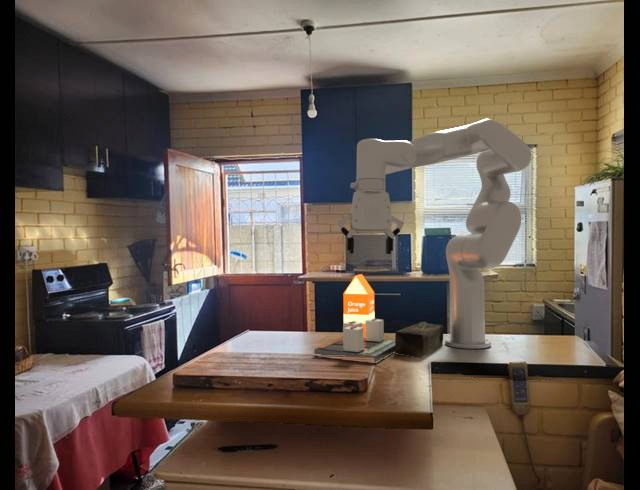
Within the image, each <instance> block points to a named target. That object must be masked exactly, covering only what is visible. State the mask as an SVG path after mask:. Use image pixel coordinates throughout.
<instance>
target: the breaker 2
mask: <svg viewBox="0 0 640 490" xmlns="http://www.w3.org/2000/svg"><path fill="white" fill-rule="evenodd" d="M384 321H385V320H384V319H379V318H376V317H375V319H368V320H366V321H365V332H366V340H367V341H377V342H379V341H381V340H383V339H385V337H384V336H385V332H384V327H385V326H384V325H385V323H384Z"/></svg>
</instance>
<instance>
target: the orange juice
mask: <svg viewBox="0 0 640 490" xmlns="http://www.w3.org/2000/svg"><path fill="white" fill-rule="evenodd" d="M375 314H376V313H375V291H374V290H373V288H372V287H371V285H370V284H369V282H368V281H367V280H366V278H365V277H364V275H363V273H361V274H357V275H355V276H354V277H353V279H352V280H351V282H350V283H349V285H348V286H347V288H346V289H345V291H344V292H343V323H346V322H352V321H356V322H361V323H362V327H363V328H364V338H366V332H365V321H366V320H368V319H375V318H376V316H375Z"/></svg>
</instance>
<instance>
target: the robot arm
mask: <svg viewBox="0 0 640 490" xmlns="http://www.w3.org/2000/svg"><path fill="white" fill-rule="evenodd" d="M478 153H479V154H478ZM475 154H478V156H477V158H476V164H475V165H476V169H477V172H478V174H479V178H480V182H481V188H480V191H479V193H478V196H477V197H476V200H475V201H474V203H473V205H472V206H471V209H470V211H469V212H468V215H467V217H466V220H465V227H466V229H467V231H468V232H469V233H467V234H466V233H465V234H464V233H463V234H459V235H455V236H454V237H452V238H451V239H449V241H448V243H447V245H446V247H445V257H446V262H447V267H448V274H449V335H450V336H449V337H446V338H445V339H444V345H446V346H448V347H453V348H458V349H465V350H466V349H467V350H469V349H471V350H476V349H478V350H480V349H485V348H486V349H487V348H490V347H491V346H492V342H491V341H490V340H489V339H487V338H486V319H485V317H486V313H485V311H486V310H485V309H486V308H485V306H486V305H485V301H486V300H485V297H486V296H485V290H486V289H485V287H486V286H485V279H484V276H483V273H482V271H481V269H495V268H497V267H498V266H500V265H501V264H502V263H503V262H504V260H505V259H506V257H507V255H508V253H509V252H510V249H511V248H512V247H513V243H514V242H515V239H516V237H517V235H518V233H519V231H520V228H521V225H522V213H521V210H520V208H519V207H518V205H516V203H514V202H511V201H510V199H511V189H510V186H509V184H508V181H507V179H506V177H505V175H507V174H511V173H517V172H520V171H523V170H525V169H526V168H527V167H528V166H529V165H530V163H531V160H532V151H531V148H530V147H529V146H528V144H527V143H526V142H525V140H523V139H521V137H519V136H518V135H516V134H515V133H514V132H513V131H512V130H511V129H509V128H508V127H506V126H505V125H504V124H503V123H501V122H498V120H494V119H492V118H484V119H482V120H479V121H478V120H477V122H473V123H471V124H466V125H463V126H459V127H454V128H449V129H444V130H443V129H442V130H438V131H434V132H430V133H427V134H425V135H423V136H420V137H418V138H415V139H413V140H410V141H408V140H402V139H401V140H382V139H380V138H379V139H378V138H365V139H362V140H359V141H358V143H357V145H356V176H355V177H356V178H355V179H356V181H355V182H351V183H350V188H351V189H354V190H355V192H353V196H352V202H351V208H350V214H349V215H347V216H344V217H343V218H340V219H338V220H337V221H336V224H337V226H338V228H339V230H340V232H341V233H342V234H343V235H344V236H345V238H346V239H347V241H346V246H347V247H346V250H347V251H349V254H351V255H352V254H354V252H355V251H354V247H355V238H354V235H355V233H357V232H382V233H384V234H385V236H386V239H385V254H386V255H391V254H392V252H393V251H394V239H395V237H396V236H397V235H398V234H399V233H400V232H401V230H402V228H403V226H404V225H405V224H404V221H403V220H401V219H399V218H397V217H395V216H394V215H392V210H391V208H392V207H391V200H390V194H389V192H387V191H386V175H389V174H392V173H396V172H397V173H398V172H400V171H405V170H409V169H414V168H419V167H423V166H431V165H435V164H440V163H443V162H447V161H451V160H455V159H460V158H465V157H467V156H472V155H475ZM348 221H350V230H348V229H347V228H346V227H345V223H346V222H348ZM392 223H393V224H395V225H396V226H395V228H394V229H393V231H392V230H391V228H392Z"/></svg>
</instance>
